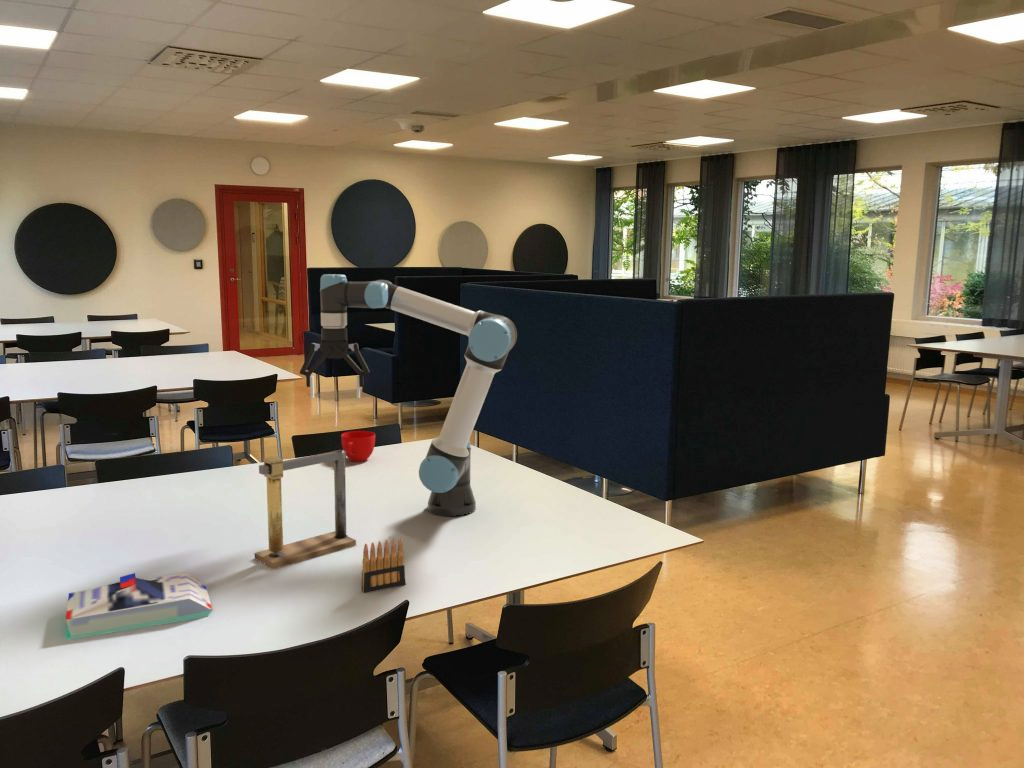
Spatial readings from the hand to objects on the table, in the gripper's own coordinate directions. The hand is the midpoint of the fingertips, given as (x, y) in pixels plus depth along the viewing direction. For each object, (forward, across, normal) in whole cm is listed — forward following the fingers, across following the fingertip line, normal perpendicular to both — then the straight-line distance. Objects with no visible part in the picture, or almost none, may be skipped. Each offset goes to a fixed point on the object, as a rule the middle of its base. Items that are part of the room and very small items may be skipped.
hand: (335, 397), depth 245 cm
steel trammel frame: (+35, +5, +30) cm, 47 cm away
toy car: (+38, +37, +66) cm, 84 cm away
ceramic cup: (+37, 0, -66) cm, 76 cm away
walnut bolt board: (+37, +5, +30) cm, 48 cm away
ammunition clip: (+37, -17, +55) cm, 68 cm away
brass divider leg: (+35, +12, +36) cm, 51 cm away
